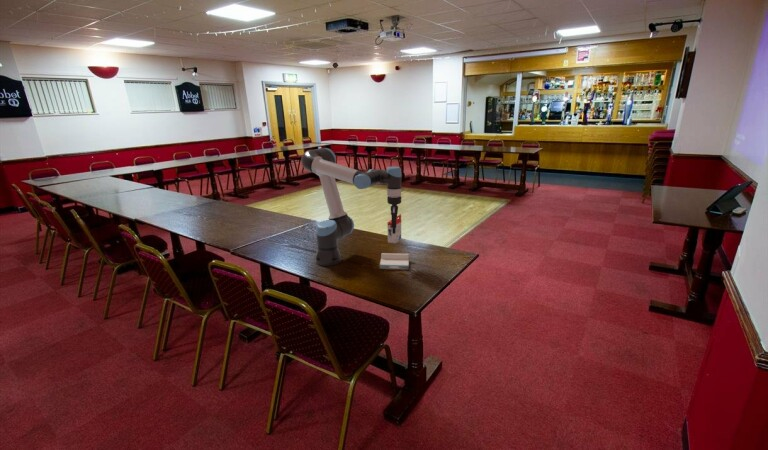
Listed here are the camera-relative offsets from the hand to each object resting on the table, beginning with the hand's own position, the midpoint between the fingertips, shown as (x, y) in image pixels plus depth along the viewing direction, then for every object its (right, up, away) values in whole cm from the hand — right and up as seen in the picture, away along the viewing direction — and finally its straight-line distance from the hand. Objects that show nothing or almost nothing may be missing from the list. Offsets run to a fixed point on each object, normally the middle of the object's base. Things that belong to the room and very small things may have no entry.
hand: (394, 235), depth 201 cm
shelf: (0, -17, +5) cm, 18 cm away
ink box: (0, -3, +1) cm, 3 cm away
